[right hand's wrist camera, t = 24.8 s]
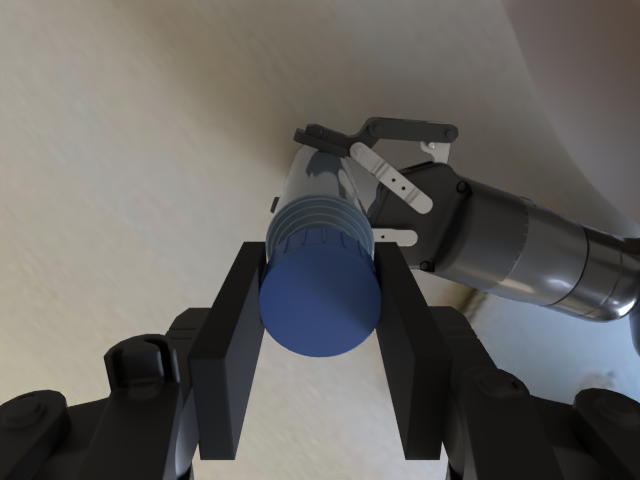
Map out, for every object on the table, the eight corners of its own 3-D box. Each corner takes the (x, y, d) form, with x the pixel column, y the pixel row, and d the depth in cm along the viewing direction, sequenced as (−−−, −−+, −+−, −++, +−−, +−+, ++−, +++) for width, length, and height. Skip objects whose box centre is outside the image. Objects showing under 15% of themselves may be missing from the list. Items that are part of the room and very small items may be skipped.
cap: (336, 344, 16) (338, 378, 14) (243, 294, 15) (233, 323, 13) (398, 262, 14) (409, 288, 13) (301, 204, 14) (298, 221, 12)
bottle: (282, 173, 35) (223, 308, 14) (313, 128, 34) (300, 197, 12) (326, 203, 36) (336, 373, 15) (357, 160, 35) (419, 276, 13)
